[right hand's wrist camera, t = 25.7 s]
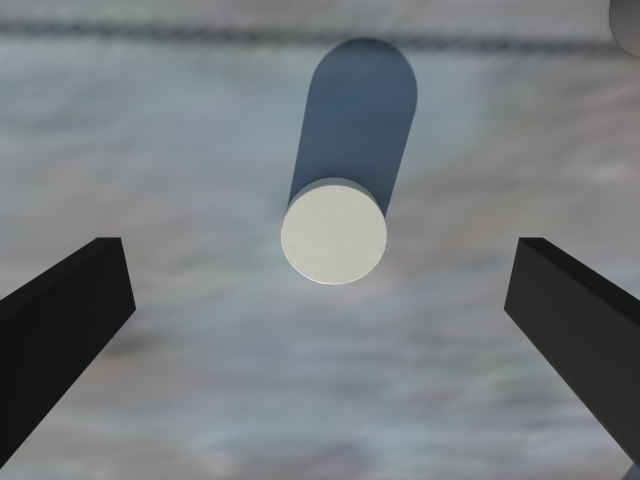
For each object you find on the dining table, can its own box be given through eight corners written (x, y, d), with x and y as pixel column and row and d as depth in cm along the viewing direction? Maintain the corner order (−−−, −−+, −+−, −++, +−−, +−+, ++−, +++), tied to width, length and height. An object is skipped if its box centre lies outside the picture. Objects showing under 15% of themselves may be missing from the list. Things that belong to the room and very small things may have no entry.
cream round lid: (283, 176, 18) (279, 183, 17) (385, 177, 18) (391, 185, 17) (285, 268, 20) (282, 283, 18) (378, 270, 20) (383, 285, 18)
